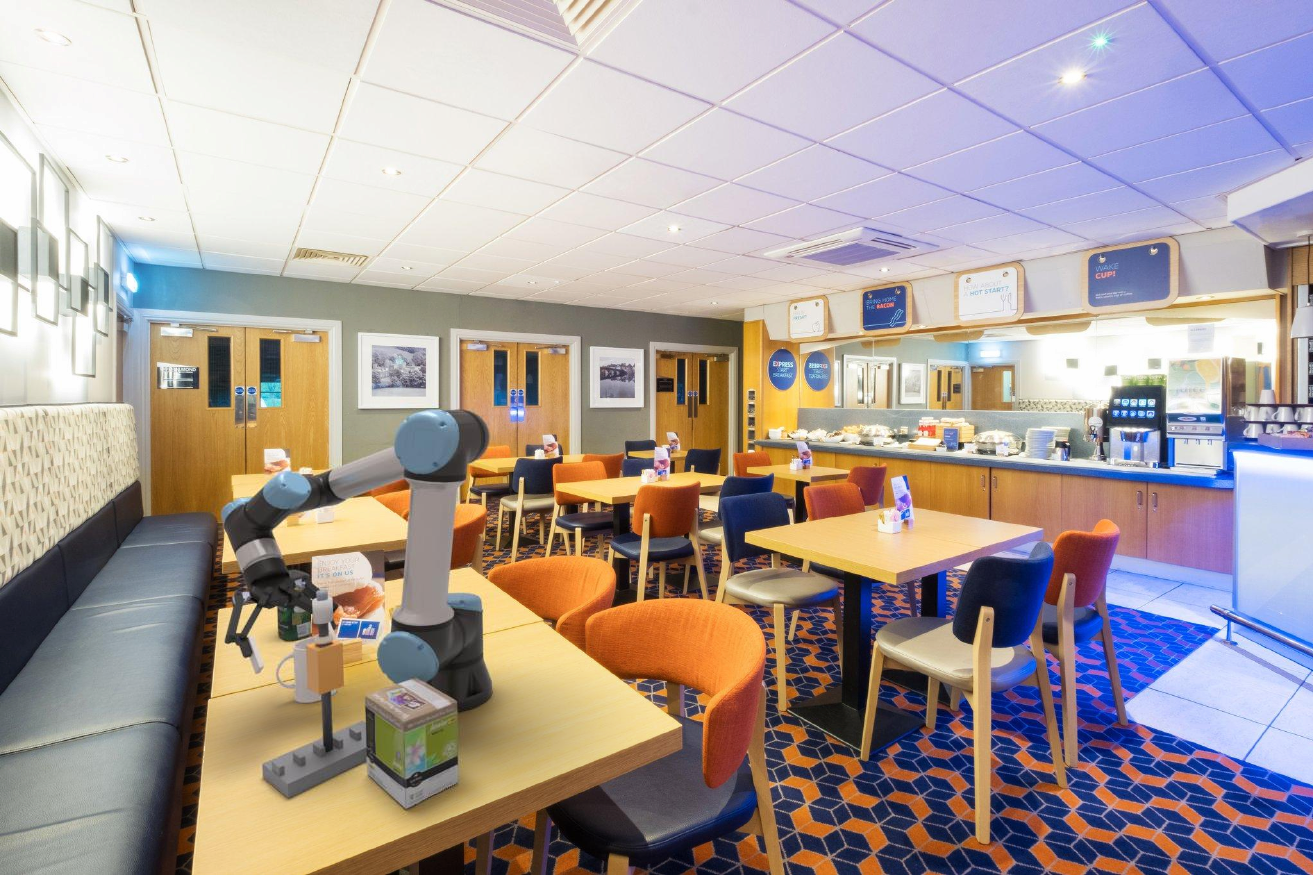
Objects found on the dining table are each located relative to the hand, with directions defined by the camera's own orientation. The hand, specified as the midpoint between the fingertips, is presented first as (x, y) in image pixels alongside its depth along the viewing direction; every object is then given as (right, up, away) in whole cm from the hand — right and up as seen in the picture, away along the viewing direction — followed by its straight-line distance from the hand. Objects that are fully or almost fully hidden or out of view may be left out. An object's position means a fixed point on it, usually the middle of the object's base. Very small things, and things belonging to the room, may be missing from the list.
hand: (298, 657), depth 119 cm
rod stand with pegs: (+9, -17, -6) cm, 20 cm away
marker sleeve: (+9, -3, -7) cm, 12 cm away
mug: (-9, -16, +19) cm, 27 cm away
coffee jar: (-34, -14, +56) cm, 67 cm away
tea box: (+27, -17, -11) cm, 34 cm away
